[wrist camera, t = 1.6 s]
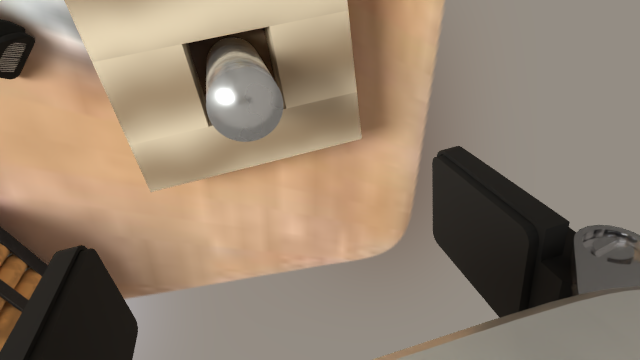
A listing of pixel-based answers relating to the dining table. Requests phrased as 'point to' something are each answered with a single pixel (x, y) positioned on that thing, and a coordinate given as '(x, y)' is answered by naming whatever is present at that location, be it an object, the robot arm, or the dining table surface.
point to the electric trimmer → (13, 49)
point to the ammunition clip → (15, 281)
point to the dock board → (185, 89)
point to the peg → (241, 91)
